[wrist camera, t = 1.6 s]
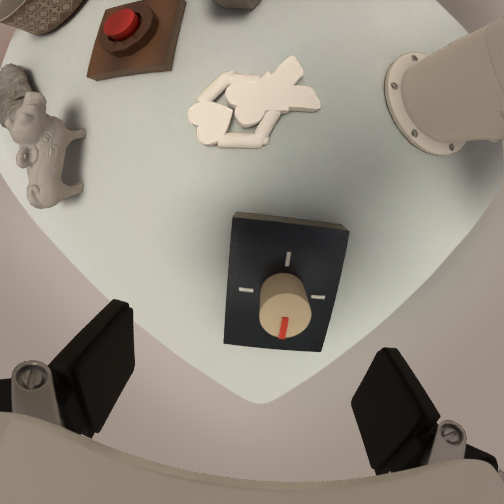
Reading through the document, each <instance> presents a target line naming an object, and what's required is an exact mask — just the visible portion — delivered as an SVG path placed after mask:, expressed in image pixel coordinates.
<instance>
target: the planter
mask: <svg viewBox="0 0 504 504" xmlns="http://www.w3.org/2000/svg"><path fill="white" fill-rule="evenodd" d="M82 1H83V0H0V23H4V24H7V25H10V26H12V27H15V28H18V29H21V30H24V31H26V32H29V33H32V34H34V35H42V34H45V33H48V32H50V31H51V30H53V29H54V28H56V27H57V26H59V25H60V24H61V23H62V22H64V21H65V20H66V19H67V18H68V17H69V16H70V15H71V14H72V13H73V12H74V11H75V10H76V9H77V7H78V6H79V5H80V4H81V2H82Z"/></svg>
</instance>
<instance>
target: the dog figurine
mask: <svg viewBox="0 0 504 504" xmlns="http://www.w3.org/2000/svg"><path fill="white" fill-rule="evenodd" d="M46 102H47V101H46V99H45V97H44V96H43V95H42V94H41V93H37V92H33V91H31V92H27V93H26V94H25V98H24V102H23V105H22V106H21V107H20V108H19V109H18V110H17V112H16V116H15V118H14V120H13V121H12V120H11V119H10V118H8V119H7V120H6V122H5V126H6V128H7V129H8V130H9V131H10V134H11V137H12V139H13V140H14V141H15V142H16V143H18V144H19V146H20V149H19V151H18V153H17V156H16V163H17V165H18V166H19V167H20V168H26V167H27V173H28V177H29V185H28V187H27V198H28V200H29V203H30V204H31V205H32V206H34V207H35V208H38V209H43V208H50V207H53V206H55V205H57V204H58V203H59V202H60V201H61V200H62V199H63V200H64V199H67V198H68V197H70V196H72V195H75V194H78V193H80V192H82V191H83V182H80V181H77V182H76V184H75V185H74V186H68V185H65V184H64V183H63V182H62V179H61V173H62V170H63V164H64V158H65V151H66V148H67V147H68V145H69V143H70V142H71V141H72V140H76V139H81V138H85V136H86V130H85V129H83V128H81V129H80V130H78V131H72V130H68V129H67V128H66V127H65V125H64V124H63V122H62V121H61V120H60V119H58V118H57V117H54V116H49V115H48V114H46Z"/></svg>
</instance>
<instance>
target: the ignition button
mask: <svg viewBox="0 0 504 504" xmlns="http://www.w3.org/2000/svg"><path fill="white" fill-rule="evenodd" d="M139 26H140V18H139V17H138V16H137V15H136V14H135V13H134V12H133V11H132V10H131V9H121V10H119V11H117V12H115V13H114V14H112V15H111V16H110V17H109V18H108V19H107V21H106V23H105V25H104V32H105V34H106V35H108V36H109V37H111V38H112V39H113V40H116V41H122V40H125V39H127V38H129V37H131V36H132V35H133V34H134V33H135V32H136V31H137V30H138V28H139Z"/></svg>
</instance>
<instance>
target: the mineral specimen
mask: <svg viewBox="0 0 504 504" xmlns="http://www.w3.org/2000/svg"><path fill="white" fill-rule="evenodd" d="M213 1H215V2H216V3H218V4H219V5H221V6H222V7H223V8H246V9H254V8H255V6H256V5H257V4H258V3H259V2H260V1H261V0H213Z"/></svg>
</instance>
